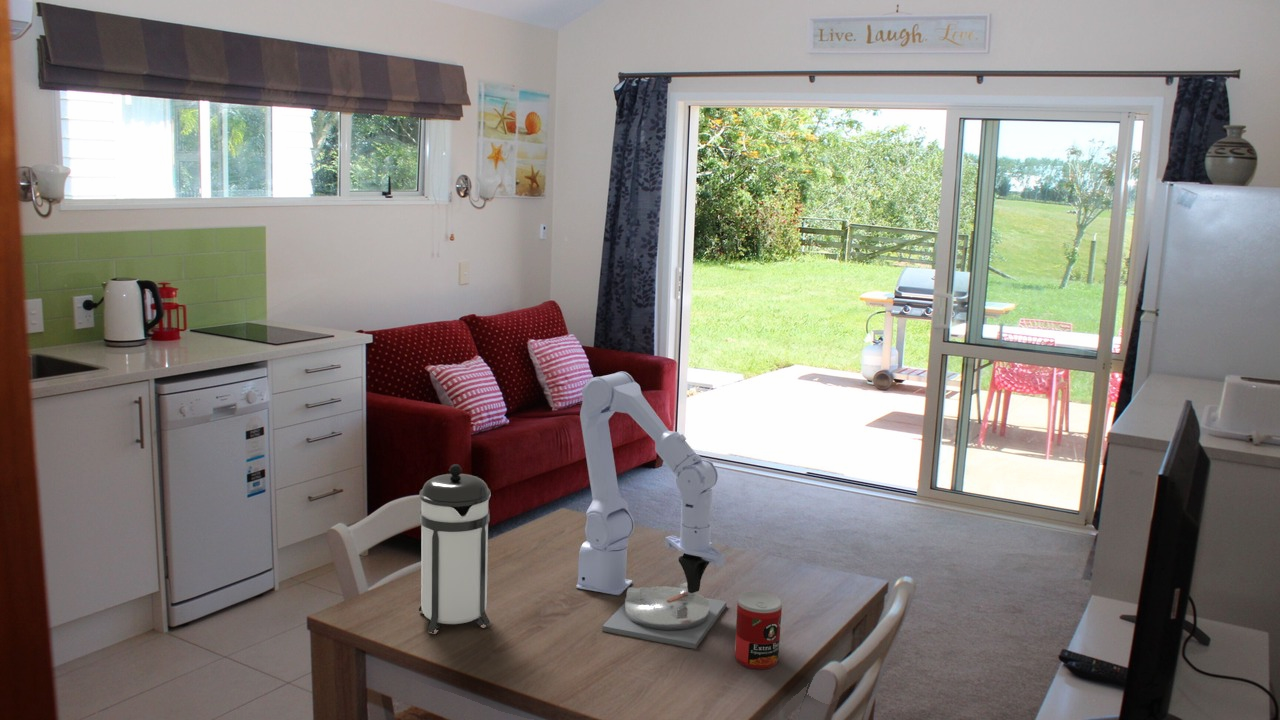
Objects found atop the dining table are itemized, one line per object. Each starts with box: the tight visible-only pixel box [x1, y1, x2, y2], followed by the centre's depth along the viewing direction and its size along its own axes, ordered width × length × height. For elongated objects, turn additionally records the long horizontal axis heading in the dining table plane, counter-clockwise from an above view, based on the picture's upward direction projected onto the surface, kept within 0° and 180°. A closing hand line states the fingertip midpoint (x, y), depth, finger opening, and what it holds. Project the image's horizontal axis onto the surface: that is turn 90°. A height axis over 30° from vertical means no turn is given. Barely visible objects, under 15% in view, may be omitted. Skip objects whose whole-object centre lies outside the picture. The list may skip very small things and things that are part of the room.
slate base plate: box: [601, 586, 727, 650], centre depth 197 cm, size 18×21×1 cm
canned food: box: [734, 591, 783, 670], centre depth 180 cm, size 8×8×11 cm
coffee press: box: [418, 463, 491, 633], centre depth 191 cm, size 17×16×30 cm
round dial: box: [624, 581, 709, 630], centre depth 196 cm, size 16×16×4 cm
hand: (693, 591), depth 200 cm, fingers closed, pressing on round dial
